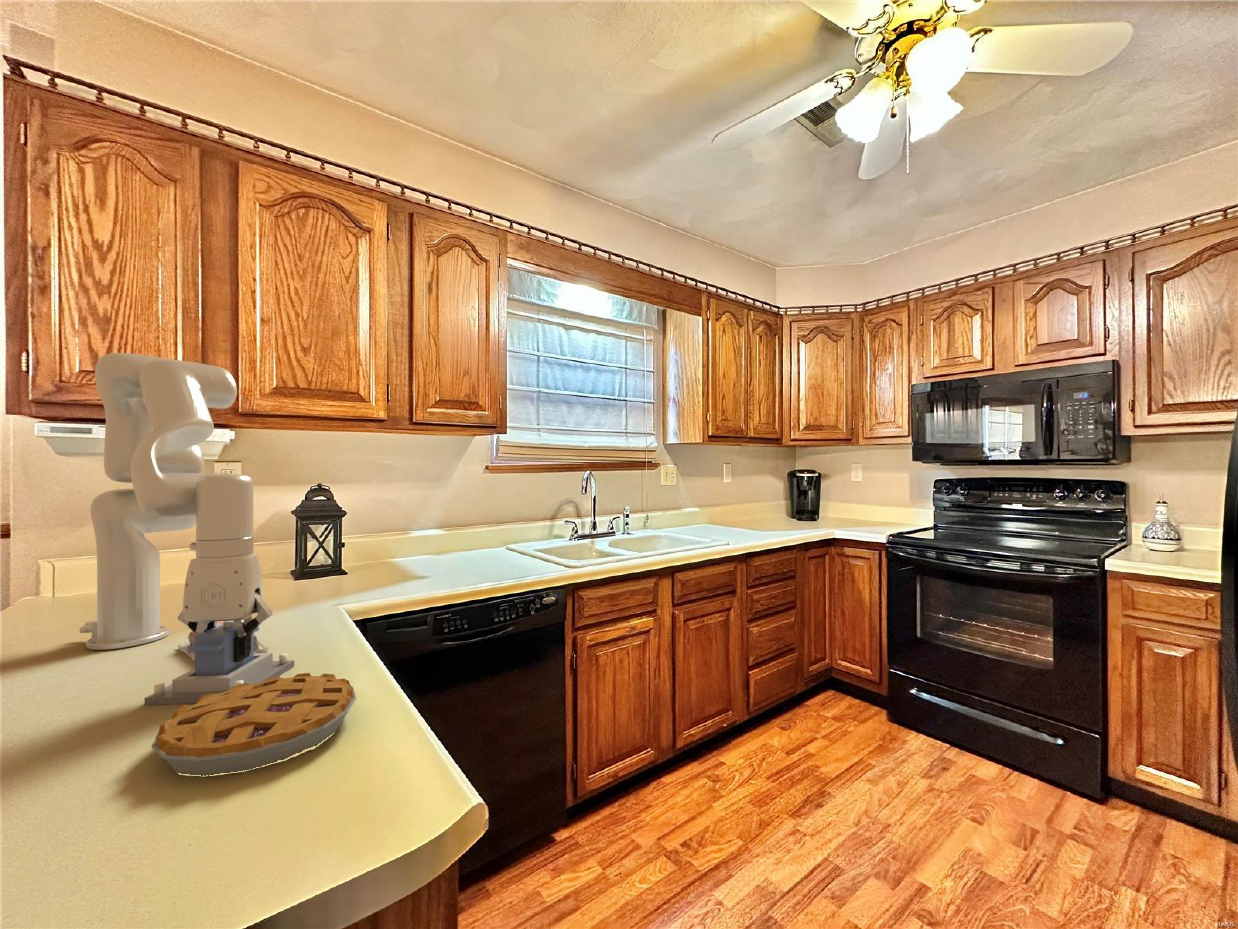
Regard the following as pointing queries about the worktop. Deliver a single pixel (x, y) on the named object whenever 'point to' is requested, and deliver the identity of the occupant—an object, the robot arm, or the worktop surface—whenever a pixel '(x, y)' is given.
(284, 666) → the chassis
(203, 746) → the pie
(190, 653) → the packaged product
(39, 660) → the worktop surface
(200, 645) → the block
